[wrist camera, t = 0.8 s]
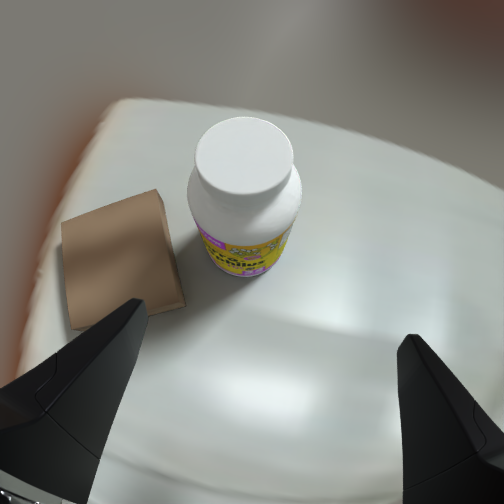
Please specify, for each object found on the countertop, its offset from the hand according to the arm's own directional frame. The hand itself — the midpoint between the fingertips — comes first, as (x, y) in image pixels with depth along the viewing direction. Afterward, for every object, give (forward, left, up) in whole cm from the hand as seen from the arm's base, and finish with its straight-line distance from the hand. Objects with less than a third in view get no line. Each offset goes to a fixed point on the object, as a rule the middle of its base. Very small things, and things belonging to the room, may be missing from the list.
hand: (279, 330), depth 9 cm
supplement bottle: (+6, +6, -15) cm, 17 cm away
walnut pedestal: (-3, +13, -15) cm, 20 cm away
